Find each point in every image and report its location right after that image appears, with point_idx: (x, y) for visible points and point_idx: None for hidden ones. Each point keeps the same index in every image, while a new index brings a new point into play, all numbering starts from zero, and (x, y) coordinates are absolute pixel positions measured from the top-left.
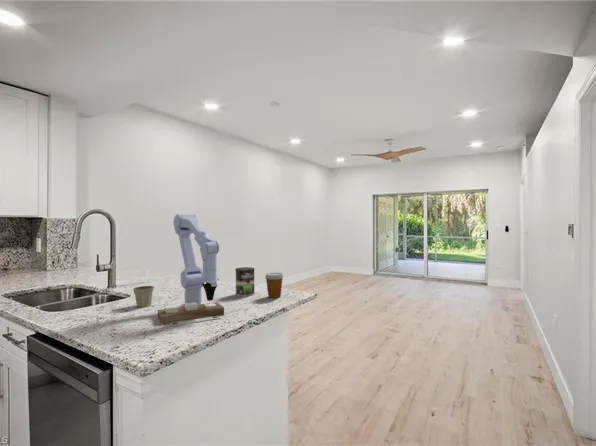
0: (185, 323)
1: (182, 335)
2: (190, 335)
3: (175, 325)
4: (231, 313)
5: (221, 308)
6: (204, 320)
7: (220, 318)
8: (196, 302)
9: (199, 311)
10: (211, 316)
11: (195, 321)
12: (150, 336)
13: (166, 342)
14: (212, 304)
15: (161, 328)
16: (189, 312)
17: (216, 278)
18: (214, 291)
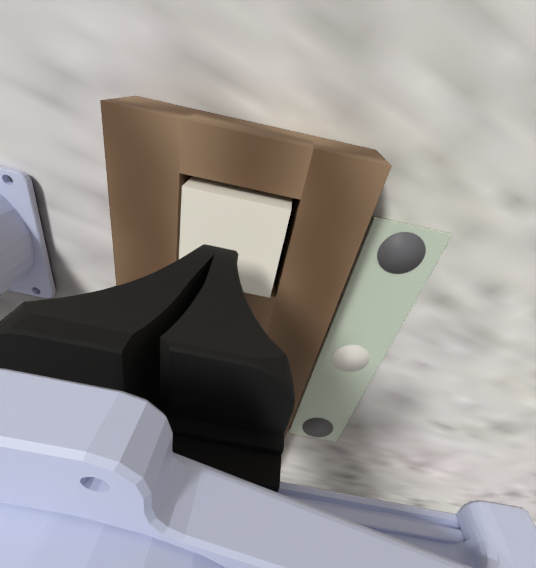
0: (357, 403)
1: (493, 456)
2: (529, 443)
3: (340, 429)
4: (403, 63)
5: (379, 193)
6: (397, 330)
7: (450, 234)
8: (1, 249)
9: (316, 354)
10: (356, 264)
11: (370, 367)
12: (388, 499)
13: (501, 498)
14: (229, 224)
15: (329, 461)
16: (298, 400)
17: (128, 563)
18: (250, 309)
